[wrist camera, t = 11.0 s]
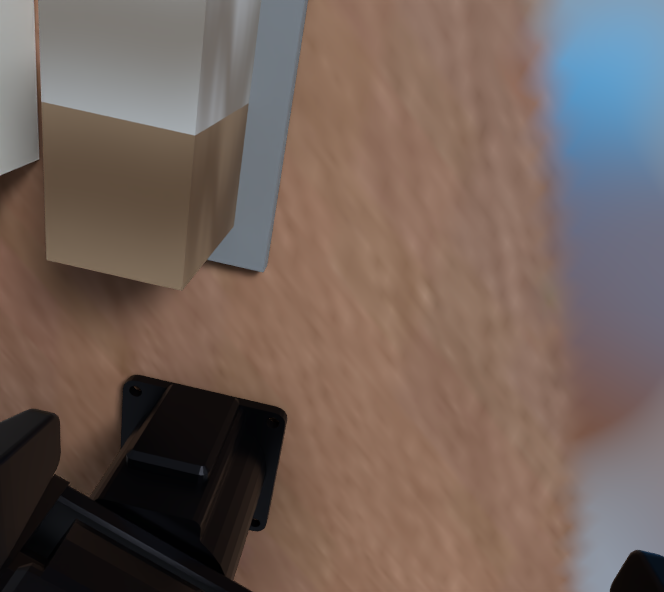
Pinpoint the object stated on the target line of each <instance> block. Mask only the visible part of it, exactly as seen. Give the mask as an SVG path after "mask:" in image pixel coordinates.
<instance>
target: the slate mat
mask: <svg viewBox="0 0 664 592" xmlns="http://www.w3.org/2000/svg"><path fill="white" fill-rule="evenodd" d="M307 3H308V0H261V8H260V16H259V24H258V32H257V40H256V49H255V57H254V65H253V73H252V81H251V90H250V98H249V106H248V114H247V122H246V131H245V139H244V147H243V155H242V163H241V172H240V180H239V188H238V196H237V204H236V212H235V221H234V227H233V228H232V229H231V230H230V232H229V233H228V234H227V235H226V237H225V238H224V239H223V240H222V242H221V243H220V244H219V245H218V247H217V248H216V249H215V250H214V252H213V253H212V254H211V255H210V257H209V258H208V259H207V260H211V261H215V262H220V263H224V264H228V265H233V266H237V267H242V268H246V269H251V270H255V271H259V272H264V270H265V268H266V266H267V263H268V256H269V250H270V243H271V237H272V230H273V224H274V217H275V211H276V204H277V198H278V191H279V185H280V178H281V172H282V165H283V159H284V152H285V146H286V139H287V133H288V126H289V120H290V113H291V107H292V100H293V94H294V88H295V81H296V75H297V68H298V62H299V55H300V49H301V42H302V36H303V29H304V23H305V16H306V10H307Z"/></svg>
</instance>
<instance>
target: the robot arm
mask: <svg viewBox="0 0 664 592" xmlns="http://www.w3.org/2000/svg"><path fill="white" fill-rule="evenodd" d="M134 386H137V387H139V388H140V389H141V391H139V390H137V389H136V388H135V387H134ZM269 418H275V419H277V420H278V422H273V421H271V420H270V419H269ZM286 423H287V415H286V413H285V411H284V410H282V409H281V408H279V407H276V406H271V405H267V404H263V403H258V402H254V401H250V400H245V399H241V398H237V397H232V396H228V395H224V394H220V393H215V392H211V391H207V390H202V389H198V388H194V387H189V386H185V385H181V384H176V383H172V382H168V381H163V380H159V379H155V378H150V377H146V376H142V375H133V376H131V377H130V378H129V379H128V380H127V382H126V383H125V384H124V387H123V403H122V430H121V450H120V451H119V453H118V454H117V456H116V457H115V459H114V460H113V462H112V464H111V465H110V467H109V468H108V470H107V471H106V473H105V474H104V476H103V477H102V479H101V480H100V482H99V483H98V485H97V486H96V488H95V490H94V491H93V493H92V494H91V496H90V497H87V496H86V495H84V494H82V493H80V492H79V491H77V490H75V489H73V488H72V487H70V486H68V485H69V483H70V482H68V481H66V480H64V479H63V478H61V477H59V476H57V475H56V474H55V475H54V476H53V474H54V472H55V470H56V468H57V466H58V464H59V460H60V454H61V448H60V420H59V417H58V416H57V415H56V414H55V413H51V412H47V411H43V410H38V409H29V410H26V411H24V412H22V413H19V414H17V415H15V416H13V417H11V418H8V419H6V420H4V421H2V422H0V592H252V591H250V590H249V589H247V588H245V587H244V586H242V585H240V584H238V583H237V582H235V581H233V579H234V576H235V573H236V570H237V566H238V563H239V560H240V557H241V554H242V550H243V547H244V544H245V541H246V537H247V534H248V531H249V530H251V531H261V530H263V529H264V528H265V526H266V523H267V519H268V515H269V510H270V505H271V500H272V495H273V490H274V484H275V479H276V474H277V469H278V464H279V459H280V454H281V449H282V444H283V439H284V434H285V429H286ZM52 476H53V477H52ZM253 518H255V519H258V520H255V519H253ZM610 592H664V557H663V556H661V555H658V554H655V553H650V552H646V551H641V550H635V551H633V552H631V553H630V555H629V556H628V558H627V560H626V561H625V563H624V564H623V566H622V568H621V569H620V571H619V572H618V574H617V576H616V577H615V579H614V581H613V583H612V585H611V588H610Z"/></svg>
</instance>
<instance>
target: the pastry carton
mask: <svg viewBox="0 0 664 592" xmlns="http://www.w3.org/2000/svg"><path fill="white" fill-rule="evenodd" d="M36 160H39V137H38V108H37V79H36V50H35V20H34V0H0V175H2V174H5V173H7V172H10V171H12V170H14V169H17V168H19V167H22V166H24V165H27V164H29V163H31V162H34V161H36Z"/></svg>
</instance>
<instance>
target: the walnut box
mask: <svg viewBox="0 0 664 592" xmlns="http://www.w3.org/2000/svg"><path fill="white" fill-rule="evenodd" d="M260 8H261V0H38V9H39V41H40V73H41V105H42V137H43V169H44V201H45V233H46V260H49V261H53V262H57V263H62V264H66V265H71V266H75V267H79V268H84V269H88V270H93V271H97V272H101V273H106V274H110V275H115V276H119V277H123V278H128V279H132V280H137V281H141V282H145V283H150V284H154V285H159V286H163V287H167V288H172V289H176V290H181V291H182V290H183V289H184V288H185V286H186V285H187V284H188V283H189V281H190V280H191V279H192V278H193V276H194V275H195V274H196V273H197V271H198V270H199V269H200V268H201V266H202V265H203V264H204V263H205V261H206V260H207V259H208V258H209V257H210V255H211V254H212V253H213V252H214V250H215V249H216V248H217V247H218V245H219V244H220V243H221V242H222V240H223V239H224V238H225V237H226V235H227V234H228V233H229V232H230V230H231V229H232V228H233V227H234V221H235V212H236V204H237V196H238V188H239V180H240V172H241V163H242V155H243V147H244V139H245V131H246V122H247V114H248V106H249V98H250V90H251V81H252V73H253V65H254V57H255V49H256V40H257V32H258V24H259V16H260Z"/></svg>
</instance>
